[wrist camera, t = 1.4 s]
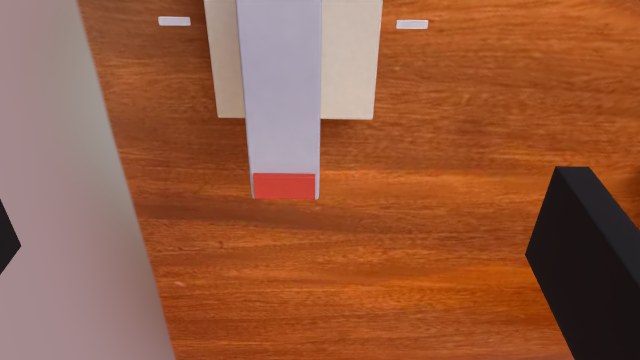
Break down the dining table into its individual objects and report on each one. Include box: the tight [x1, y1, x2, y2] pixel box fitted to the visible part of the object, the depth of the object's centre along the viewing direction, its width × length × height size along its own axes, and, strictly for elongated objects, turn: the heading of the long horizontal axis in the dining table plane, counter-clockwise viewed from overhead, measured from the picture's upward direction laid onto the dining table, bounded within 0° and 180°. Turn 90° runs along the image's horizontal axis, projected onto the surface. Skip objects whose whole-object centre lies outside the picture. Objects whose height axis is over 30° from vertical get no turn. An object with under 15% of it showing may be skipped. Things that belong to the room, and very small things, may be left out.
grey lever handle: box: [235, 0, 322, 199], centre depth 19 cm, size 8×2×8 cm, turn 179°
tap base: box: [158, 0, 428, 119], centre depth 23 cm, size 12×12×3 cm
